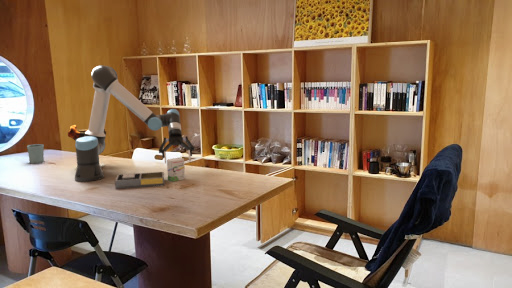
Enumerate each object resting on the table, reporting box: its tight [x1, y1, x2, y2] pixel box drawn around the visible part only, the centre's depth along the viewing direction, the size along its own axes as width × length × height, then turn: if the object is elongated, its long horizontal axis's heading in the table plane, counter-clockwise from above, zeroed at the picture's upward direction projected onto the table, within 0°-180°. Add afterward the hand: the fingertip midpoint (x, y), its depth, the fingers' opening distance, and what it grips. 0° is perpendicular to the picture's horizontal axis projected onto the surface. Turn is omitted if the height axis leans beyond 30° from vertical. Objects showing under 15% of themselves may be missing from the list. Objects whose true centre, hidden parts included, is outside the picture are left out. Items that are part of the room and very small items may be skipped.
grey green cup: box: [26, 143, 45, 165], centre depth 271 cm, size 10×10×12 cm
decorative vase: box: [67, 124, 107, 170], centre depth 254 cm, size 21×23×28 cm
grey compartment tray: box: [114, 171, 165, 190], centre depth 210 cm, size 24×14×5 cm, turn 104°
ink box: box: [166, 157, 186, 182], centre depth 219 cm, size 8×5×12 cm, turn 135°
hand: (177, 161), depth 223 cm, fingers open, 13 cm apart
